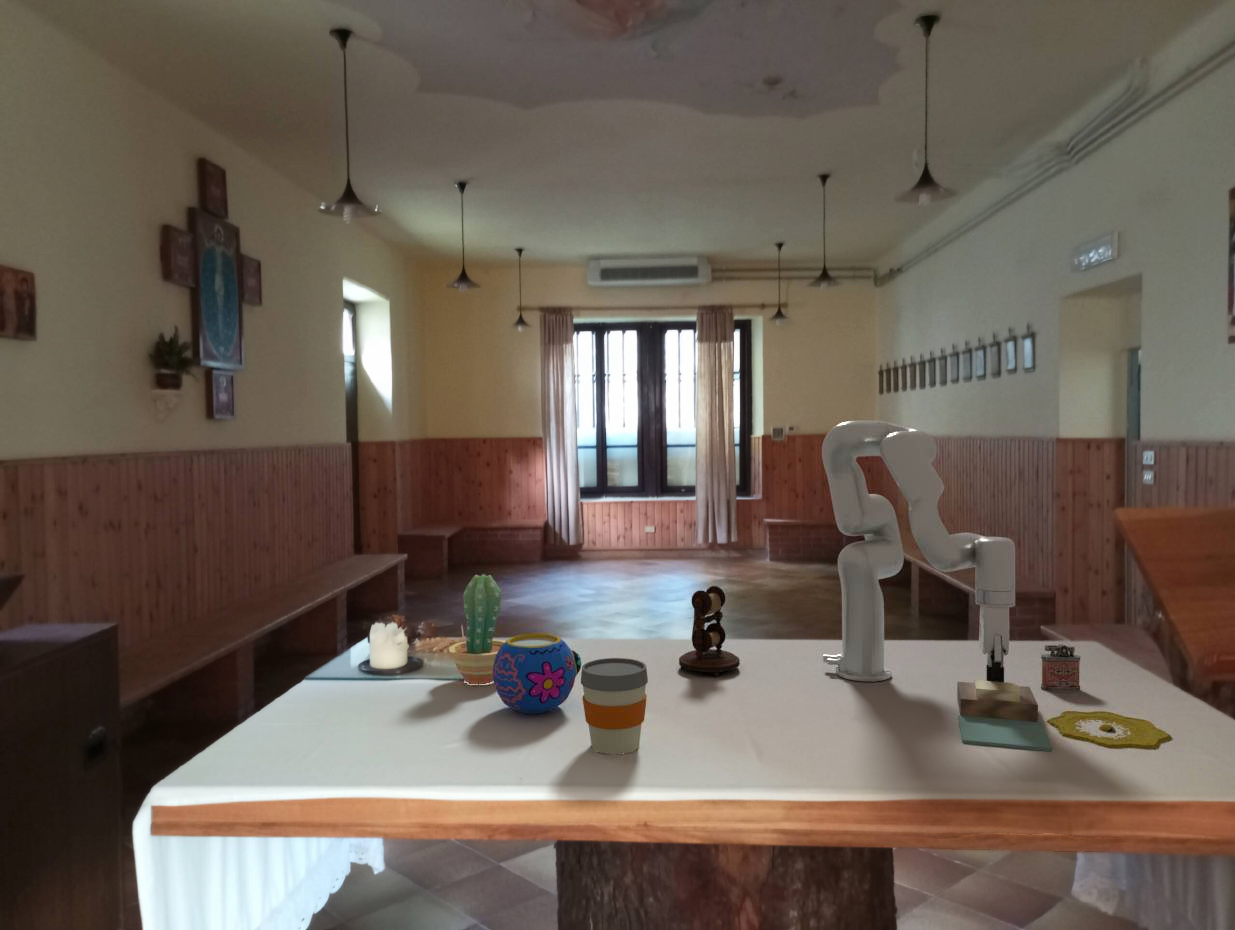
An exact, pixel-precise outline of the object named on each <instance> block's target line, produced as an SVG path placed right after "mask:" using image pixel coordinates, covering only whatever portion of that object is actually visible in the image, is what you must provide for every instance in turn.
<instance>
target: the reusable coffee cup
mask: <svg viewBox="0 0 1235 930" xmlns="http://www.w3.org/2000/svg"><path fill="white" fill-rule="evenodd" d="M580 676H581V677H580V684H581V685H582V691H583V696H582V697H581V698H582V705H583V711H584V712H583V713H584V717H585V719H584V720H585V722H586V724H587V725H588V730H589V731H588V732H589V736H590V737H589V739H590V744H591V748H593V749H594V750H595V751H594V750H593V749H592V750H593V751H594V752H596V751H598V752H601V753H605V754H604V755H607V754H622V755H624V754H623V753H628V752H631V753H633V752H632V751H634V750H636V749H637V748H638V747H639V748H640V742H641V734H642V733H641V731H642V724H643V723H644V722H645V718H646V717H645V716H646V715H645V714H646V705H647V697H648V696H647V694H646V685H647V684H648V683H649V677H648V669H647V665H646V663H644V662H643V661H641V660H637V659H632V658H625V657H610V658H608V657H607V658H599V659H594V660H591V661H588V662H585V663H584V664H583V665H581V674H580ZM639 748H638V749H639ZM638 749H637V750H638ZM637 750H636V751H637ZM598 752H597V753H598ZM634 752H635V751H634ZM601 753H600V754H601ZM628 754H629V753H628Z"/></svg>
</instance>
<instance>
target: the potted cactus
mask: <svg viewBox="0 0 1235 930" xmlns="http://www.w3.org/2000/svg"><path fill="white" fill-rule="evenodd" d="M462 597H463V611H464V614H465V618H466V623H467V624H466V636H465V637H466V640H465V641H460V642H457V643H456V642H455V644H452V645H451V646H449V647H448V649H449V650H448V651H449V652H448V653H449V655H450V658H451V659H453V661H454V664H455V666H456V669H457V671H458V672H459V673H460V674H461V675H460V676H462V677H463V678H465V680H466V682H468V683H469V684H478V685H479V684H486V683H490V682H492V681H494V679H493V666H494V661H495V658H496V655H497V653H498V651H499V649H500V647H501V646H502V645H503V644H504V643H505V642H506V641H507V640H503V639H494V635H495V629H496V623H497V620H498V618H499V617H498V616H499V614H500V611H501V608H502V606H501V605H502V590H501V588H500V587H499V585H498V584H497V582H496V581H495V579H494V578H493V576H492V575H491V574H489V575H486V574H484V573H483V574H481V575H478V574H475V575H474V576H472V578H471V580H470V581H469V583H468V584H467V585H466V588H465V590H464V591H463V594H462Z"/></svg>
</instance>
